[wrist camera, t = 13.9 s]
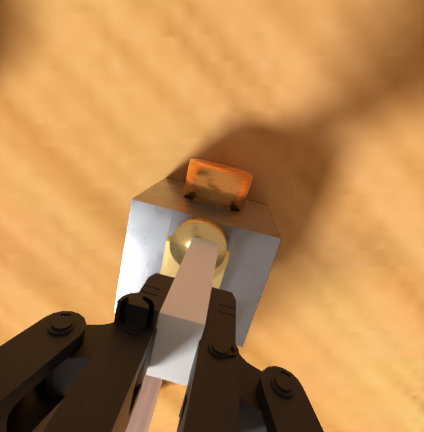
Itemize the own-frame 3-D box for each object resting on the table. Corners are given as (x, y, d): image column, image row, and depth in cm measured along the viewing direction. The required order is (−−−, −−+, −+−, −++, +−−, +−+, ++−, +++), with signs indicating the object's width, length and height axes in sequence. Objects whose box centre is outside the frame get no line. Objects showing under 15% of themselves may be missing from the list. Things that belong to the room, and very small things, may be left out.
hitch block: (165, 177, 24) (116, 208, 14) (267, 204, 24) (288, 254, 14) (149, 260, 26) (98, 334, 17) (240, 285, 26) (243, 373, 17)
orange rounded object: (195, 156, 23) (184, 162, 18) (251, 171, 23) (255, 181, 18) (167, 279, 27) (152, 310, 22) (215, 292, 27) (210, 326, 22)
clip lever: (172, 209, 15) (168, 216, 14) (238, 227, 15) (238, 235, 14) (153, 316, 19) (148, 326, 18) (205, 330, 19) (204, 341, 18)
